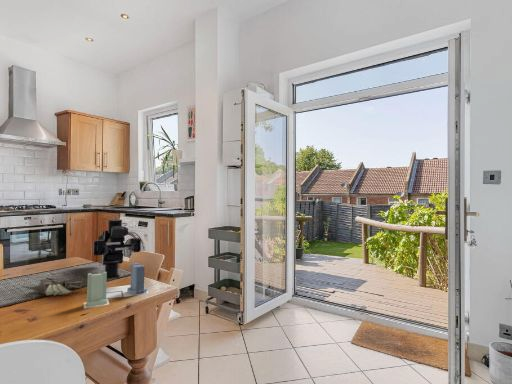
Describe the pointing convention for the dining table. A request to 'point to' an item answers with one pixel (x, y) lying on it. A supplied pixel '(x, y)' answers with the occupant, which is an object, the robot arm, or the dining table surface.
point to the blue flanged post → (137, 279)
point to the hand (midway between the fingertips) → (120, 250)
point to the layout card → (115, 294)
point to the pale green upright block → (96, 289)
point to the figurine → (53, 286)
